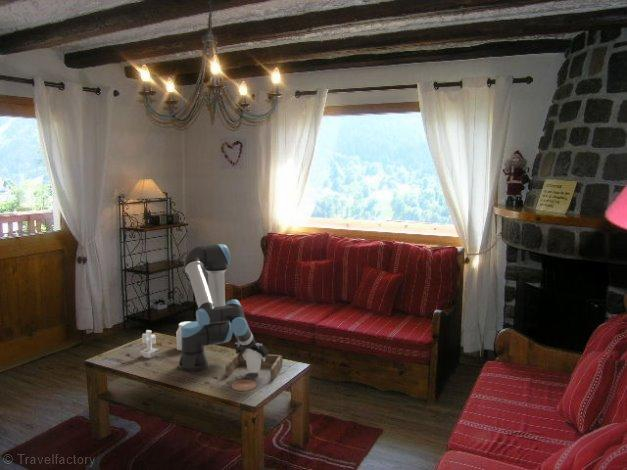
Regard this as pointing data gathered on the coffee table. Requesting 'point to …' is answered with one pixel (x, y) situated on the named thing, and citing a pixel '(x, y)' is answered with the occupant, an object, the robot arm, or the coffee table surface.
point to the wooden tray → (269, 361)
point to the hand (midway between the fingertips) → (255, 358)
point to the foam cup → (253, 360)
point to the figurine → (149, 344)
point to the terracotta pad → (243, 385)
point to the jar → (178, 334)
